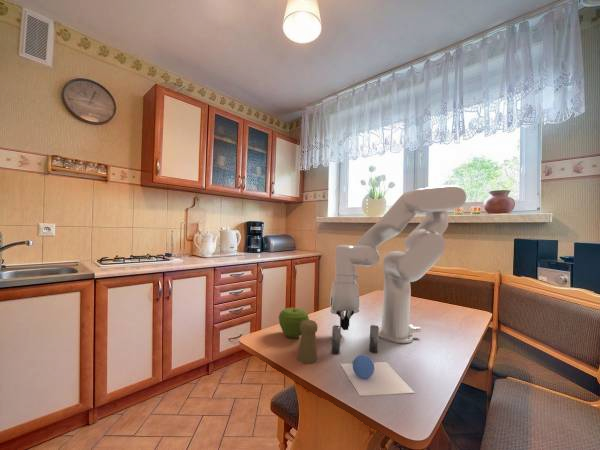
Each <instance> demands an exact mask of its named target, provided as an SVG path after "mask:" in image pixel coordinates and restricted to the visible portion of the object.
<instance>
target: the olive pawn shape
mask: <svg viewBox="0 0 600 450" xmlns="http://www.w3.org/2000/svg"><path fill="white" fill-rule="evenodd" d="M300 330H301V332H302V333H301V335H300V338H299V339H300V340H299V345H298V349H297V355H296V359H297V361H298V362H300V363H302V364H304V365H305V364H306V365H310V364H315V363H317V361H318V353H317V352H318V351H317V339H316V333H317V331H318V324H317V322H316V321H314V320H312V319H309V320H304V321H302V322H301V324H300Z"/></svg>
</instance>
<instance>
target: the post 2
mask: <svg viewBox="0 0 600 450" xmlns="http://www.w3.org/2000/svg"><path fill="white" fill-rule="evenodd" d="M379 328H380V327H379V326H378V325H376V324H371V325H370V327H369V344H368V345H369V348H368V351H369V353H371V354H378V351H379V350H378V349H379V336H378V333H379Z"/></svg>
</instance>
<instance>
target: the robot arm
mask: <svg viewBox="0 0 600 450" xmlns="http://www.w3.org/2000/svg"><path fill="white" fill-rule="evenodd" d="M466 201H467V193H466V191H465V190H464V189H463V188H462V187H460V186H458V185H454V184H453V185H444V186H435V187H425V188H423V187H422V188H421V187H420V188H417V189H413V190H408V191H406V192H404V193H403V194H401V196H399V197H398V199H397V200H396V201H395V202H394V203H393V205H391V207H390V208H389V209H388V210H387V212H386V213H385V214H384V215H383V216H382V217H381V218H380V220H378V221H377V222H376V223H375V224H374V225H373V226H372V227H370V228H369V229H368V230H367V231H366V232H364V234H363V235H362V236H361V237H360V238H359V239H358V240H357V241H356V243H355V244H354V245H351V244H339V245H336V247H335V250H334V251H335V252H334V253H335V254H334V264H335V265H334V281H332V283H331V288H330V289H331V290H330V297H329V306H330V311H329V312H330V313H331V314H333V315H337V316H338V317H339V326H340V327H341V329H342V331H349V327H350V319H351V318H352V316H353V315H354V314H358V313H359V312H360V309H359V308H360V292H359V286H358V282H357V280H359V279H360V275H359V274H356V271H357V269H356V268H357V266H362V267H373V266H375V265H376V264H377V263H378V262H379V260H380V256H381V255H380V252H379V250H378V249H377V248H378V247H380V245H381V244H383V243H385V242H386V241H388V240H390V239H392V238H394V237H397V236H398V235H400V234H401V233H402V232H403V230H404V229H405V227H407V225H408V224H409V223H410V222H411V221H412V219H413V218H415V216H416V215H417V214H421V213H423V214H424V213H425V216H424V218H423V219H422V220H421V222H419V224H418V225H417V226H416V227H415V228H414V229H413V230H412V231H411V232H410V233H409V234H408V235H407V236H406V237H405V240H404V244H403V245H404V248H405V249H404V250H405V251H406V252H404V251H401V250H394V251H393V250H392V251H390V252H388V253H387V254H386V255H385V256H384V257H383V261H382V273H383V274H382V275H383V292H382V311H381V327H379V333H378V337H379V338H381V339H382V340H385V341H387V342H392V343H397V344H409V343H411V342H413V341H414V336H413V334H414V333H421V332H422V328H421V326H414V325H413V324H410V310H411V295H412V294H411V293H412V291H411V290H412V289H411V287H412V286H411V283H414V282H416V281H418V280H420V279H422V277H424V276H425V275H426V273H428V271H429V270H431V269H432V267H433V266H435V264H436V263H437V262H438V261H439V260H440V258H441V257H442V256H443V255H444V252H445V250H446V239H445V238H444V236H443V235H444V233H445V232H446V230H447V229H448V227H449V214H448V213H449V212H448V211H454V210H455V211H456V210H458V209H460V208H462V207H463V206H464V205H465V203H466Z"/></svg>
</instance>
